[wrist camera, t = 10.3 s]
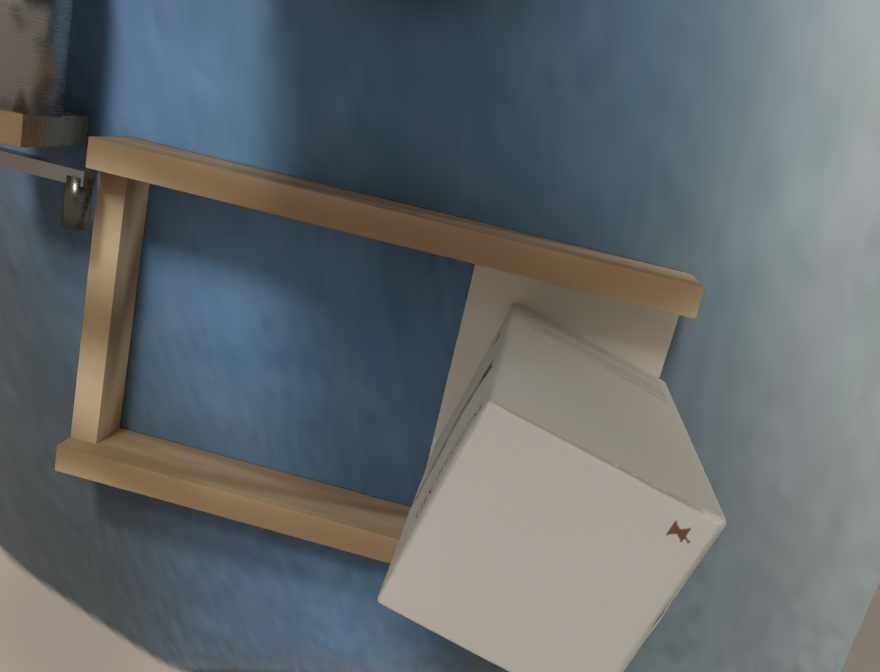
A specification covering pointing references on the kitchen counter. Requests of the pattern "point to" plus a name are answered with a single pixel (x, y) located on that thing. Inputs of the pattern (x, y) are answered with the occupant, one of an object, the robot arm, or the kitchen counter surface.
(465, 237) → the bay
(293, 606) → the kitchen counter surface
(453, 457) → the supplement box
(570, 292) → the front mat
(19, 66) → the winch
